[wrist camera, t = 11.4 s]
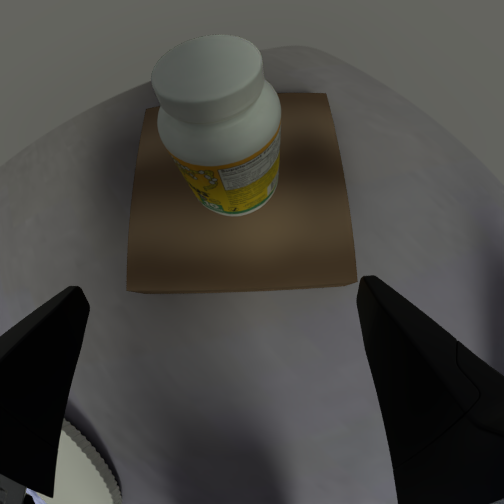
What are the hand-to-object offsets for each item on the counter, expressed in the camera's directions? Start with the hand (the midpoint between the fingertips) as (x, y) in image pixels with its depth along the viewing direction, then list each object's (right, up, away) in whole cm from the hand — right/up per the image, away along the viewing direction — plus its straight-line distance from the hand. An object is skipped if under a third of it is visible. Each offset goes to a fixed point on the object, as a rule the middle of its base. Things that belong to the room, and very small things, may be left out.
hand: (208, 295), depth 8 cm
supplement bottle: (0, +6, +10) cm, 11 cm away
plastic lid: (-17, -20, +9) cm, 28 cm away
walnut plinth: (0, +6, +12) cm, 13 cm away
